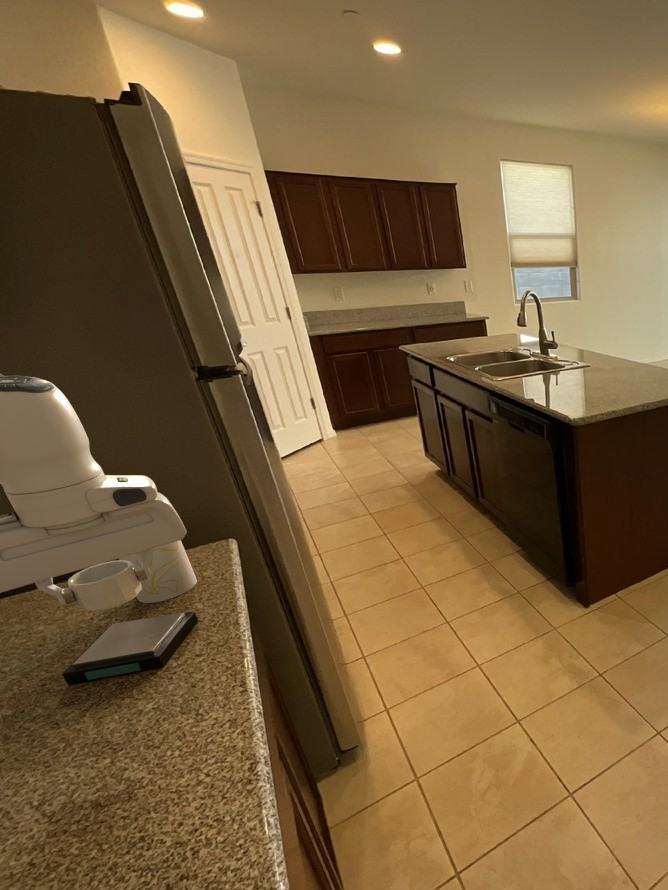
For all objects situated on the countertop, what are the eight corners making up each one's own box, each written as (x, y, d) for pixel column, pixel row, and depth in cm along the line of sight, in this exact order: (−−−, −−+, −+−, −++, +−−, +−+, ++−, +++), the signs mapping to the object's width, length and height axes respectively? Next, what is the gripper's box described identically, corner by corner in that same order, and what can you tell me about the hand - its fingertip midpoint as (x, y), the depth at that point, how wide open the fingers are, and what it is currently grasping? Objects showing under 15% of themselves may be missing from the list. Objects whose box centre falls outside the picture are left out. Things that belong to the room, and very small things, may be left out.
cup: (137, 608, 87) (107, 546, 83) (137, 588, 93) (110, 528, 88) (198, 589, 92) (174, 530, 87) (195, 571, 98) (172, 514, 93)
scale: (66, 686, 71) (58, 671, 70) (115, 634, 81) (108, 621, 80) (162, 668, 74) (156, 654, 73) (198, 621, 84) (193, 607, 83)
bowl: (70, 617, 70) (55, 589, 69) (100, 590, 76) (87, 564, 74) (127, 608, 72) (114, 580, 70) (152, 582, 78) (141, 556, 76)
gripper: (-64, 537, 59) (-3, 635, 64) (168, 484, 73) (202, 568, 78) (-57, 521, 63) (-1, 614, 68) (161, 473, 77) (194, 554, 82)
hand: (109, 589), depth 73 cm, fingers closed on bowl, 6 cm apart
